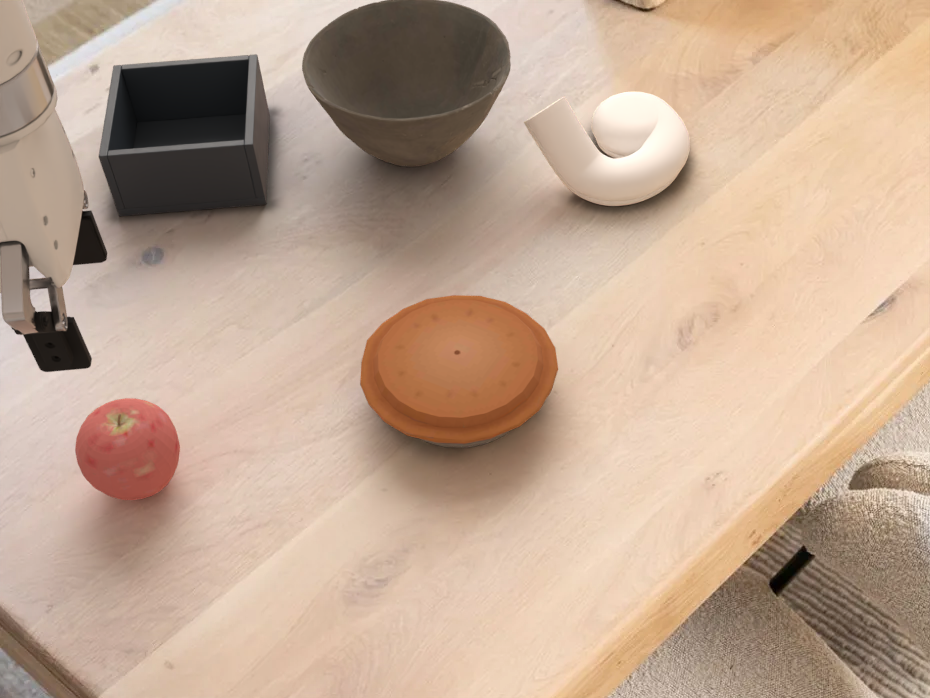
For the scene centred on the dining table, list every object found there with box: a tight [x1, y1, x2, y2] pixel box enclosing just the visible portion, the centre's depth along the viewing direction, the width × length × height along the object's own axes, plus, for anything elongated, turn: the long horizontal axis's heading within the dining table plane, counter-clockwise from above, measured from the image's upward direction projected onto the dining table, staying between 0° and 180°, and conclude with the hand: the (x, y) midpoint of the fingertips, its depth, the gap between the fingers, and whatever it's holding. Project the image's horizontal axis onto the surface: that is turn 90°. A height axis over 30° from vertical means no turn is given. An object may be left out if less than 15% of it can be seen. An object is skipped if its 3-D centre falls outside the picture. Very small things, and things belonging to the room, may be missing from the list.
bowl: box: [301, 0, 512, 168], centre depth 115 cm, size 19×19×10 cm
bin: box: [98, 53, 270, 217], centre depth 116 cm, size 14×14×7 cm
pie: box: [359, 294, 559, 449], centre depth 98 cm, size 15×16×5 cm
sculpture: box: [523, 91, 691, 207], centre depth 113 cm, size 12×15×8 cm
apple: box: [74, 397, 181, 501], centre depth 92 cm, size 7×7×8 cm
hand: (76, 312), depth 81 cm, fingers open, 9 cm apart
